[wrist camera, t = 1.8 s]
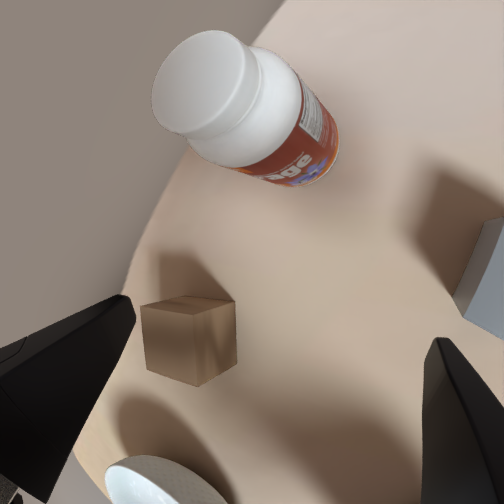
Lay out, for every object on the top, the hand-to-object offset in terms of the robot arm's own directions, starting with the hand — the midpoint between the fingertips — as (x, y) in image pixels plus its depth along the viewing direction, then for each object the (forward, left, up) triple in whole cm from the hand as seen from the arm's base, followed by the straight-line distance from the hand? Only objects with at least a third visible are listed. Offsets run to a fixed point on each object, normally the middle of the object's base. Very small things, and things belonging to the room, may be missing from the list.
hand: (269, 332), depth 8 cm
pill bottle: (+8, +6, -12) cm, 16 cm away
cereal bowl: (-29, +8, -12) cm, 33 cm away
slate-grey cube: (+3, -9, -12) cm, 16 cm away
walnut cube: (-7, +10, -12) cm, 17 cm away
